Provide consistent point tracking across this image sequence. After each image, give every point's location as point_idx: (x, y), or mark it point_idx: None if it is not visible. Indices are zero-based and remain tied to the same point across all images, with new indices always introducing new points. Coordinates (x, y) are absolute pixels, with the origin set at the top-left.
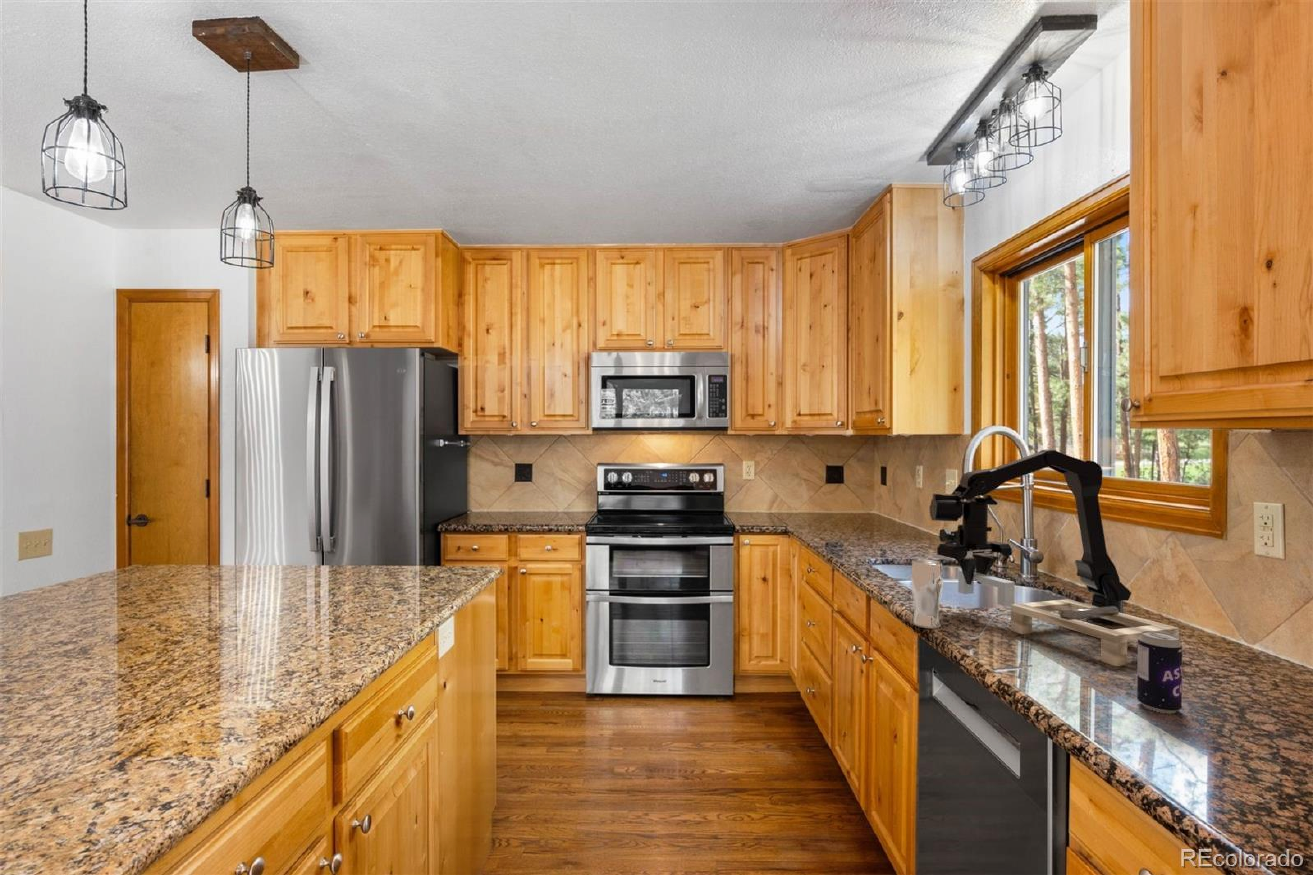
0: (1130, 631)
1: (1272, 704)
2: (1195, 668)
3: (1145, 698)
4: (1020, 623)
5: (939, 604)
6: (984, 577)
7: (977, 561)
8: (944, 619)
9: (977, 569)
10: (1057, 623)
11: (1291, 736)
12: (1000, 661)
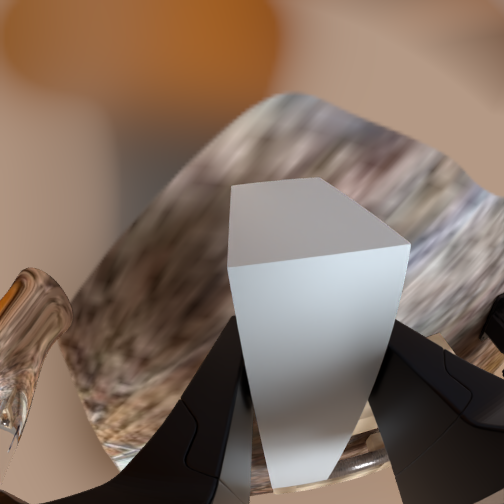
0: (314, 487)
1: None
2: (355, 453)
3: None
4: None
5: (41, 367)
6: (266, 459)
7: (458, 439)
8: (107, 261)
9: (404, 380)
10: None
11: (258, 494)
12: (123, 439)
